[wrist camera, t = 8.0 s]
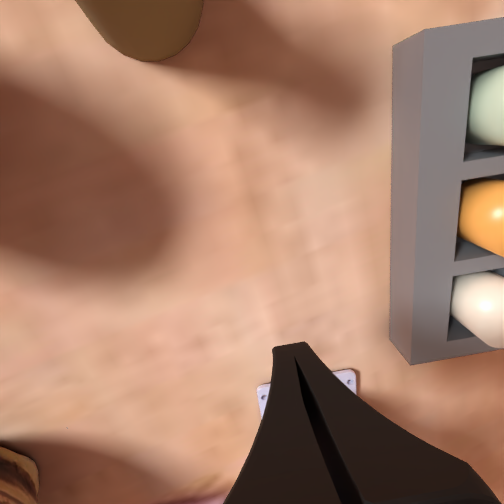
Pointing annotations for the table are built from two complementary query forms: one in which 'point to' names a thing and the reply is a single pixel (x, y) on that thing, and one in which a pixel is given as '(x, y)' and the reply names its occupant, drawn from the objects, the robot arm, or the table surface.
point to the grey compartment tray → (436, 185)
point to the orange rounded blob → (482, 213)
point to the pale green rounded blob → (486, 108)
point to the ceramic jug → (17, 478)
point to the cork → (145, 25)
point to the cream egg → (480, 305)
